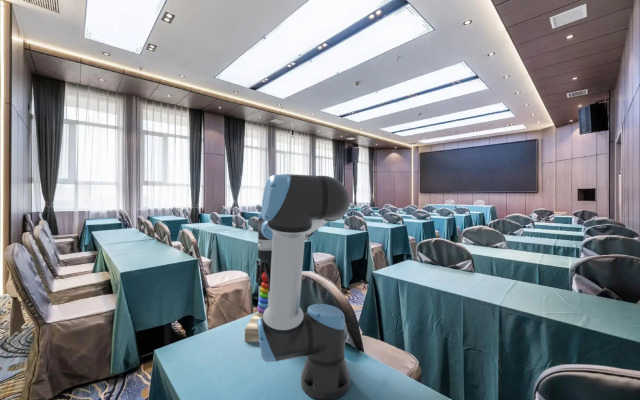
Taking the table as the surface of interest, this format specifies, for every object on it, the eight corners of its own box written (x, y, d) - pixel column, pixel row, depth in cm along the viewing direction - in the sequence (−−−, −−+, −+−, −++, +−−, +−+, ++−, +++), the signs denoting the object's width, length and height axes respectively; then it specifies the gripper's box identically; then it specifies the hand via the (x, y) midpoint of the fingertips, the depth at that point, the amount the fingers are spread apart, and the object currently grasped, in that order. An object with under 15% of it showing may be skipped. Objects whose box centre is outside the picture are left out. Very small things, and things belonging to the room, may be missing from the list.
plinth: (279, 342, 109) (280, 329, 109) (244, 341, 109) (244, 328, 109) (285, 325, 123) (285, 314, 123) (253, 324, 123) (254, 313, 123)
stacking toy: (265, 320, 110) (265, 274, 110) (252, 315, 115) (253, 270, 115) (279, 314, 117) (280, 270, 116) (267, 309, 122) (267, 267, 121)
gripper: (247, 246, 120) (247, 298, 121) (271, 253, 106) (271, 313, 106) (262, 244, 125) (262, 294, 126) (287, 251, 111) (287, 308, 111)
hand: (266, 303), depth 116 cm, fingers closed on stacking toy, 7 cm apart
